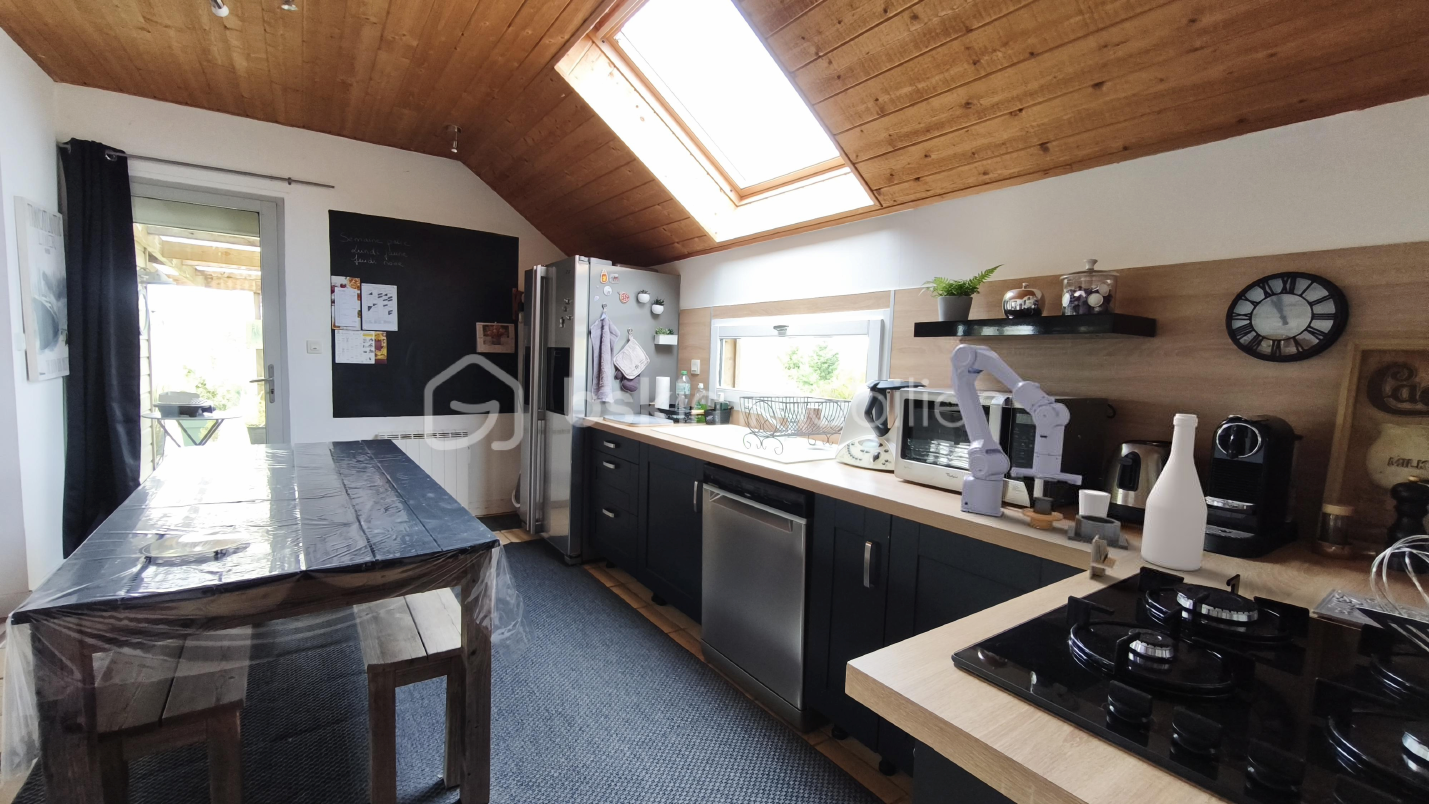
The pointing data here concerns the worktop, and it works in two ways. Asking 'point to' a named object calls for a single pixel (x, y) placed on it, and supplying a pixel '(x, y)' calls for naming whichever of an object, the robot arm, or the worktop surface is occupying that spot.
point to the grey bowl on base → (1097, 530)
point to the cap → (1042, 513)
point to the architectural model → (1100, 558)
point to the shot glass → (1093, 503)
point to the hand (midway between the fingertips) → (1042, 509)
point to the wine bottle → (1176, 506)
